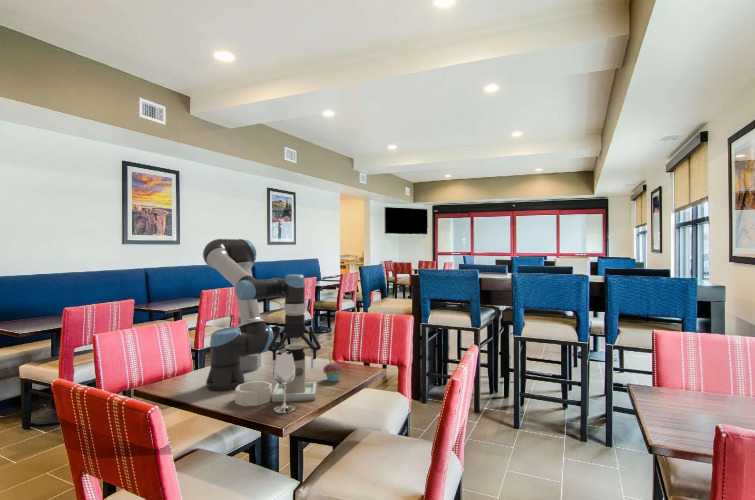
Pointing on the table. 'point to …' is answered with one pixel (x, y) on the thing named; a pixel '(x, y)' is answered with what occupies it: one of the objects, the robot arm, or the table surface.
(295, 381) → the travel mug
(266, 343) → the robot arm
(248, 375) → the table surface
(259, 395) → the holder
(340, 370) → the cupcake
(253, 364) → the lumpy-topped squat cylinder
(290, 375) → the wineglass
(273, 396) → the tray
